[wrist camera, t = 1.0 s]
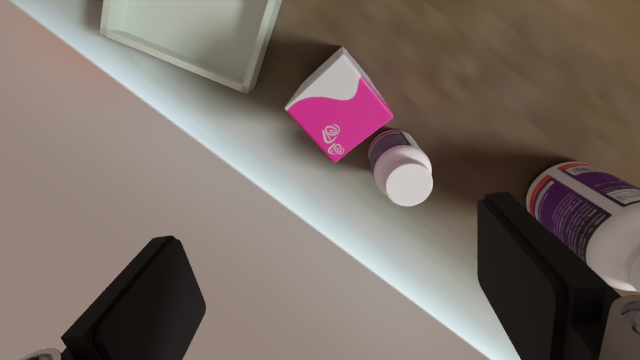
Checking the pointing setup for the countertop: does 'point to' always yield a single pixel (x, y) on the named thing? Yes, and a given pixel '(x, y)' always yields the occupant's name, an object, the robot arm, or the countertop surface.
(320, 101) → the supplement box
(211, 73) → the tray
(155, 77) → the countertop surface
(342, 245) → the countertop surface
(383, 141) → the pill bottle
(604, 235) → the pill bottle
